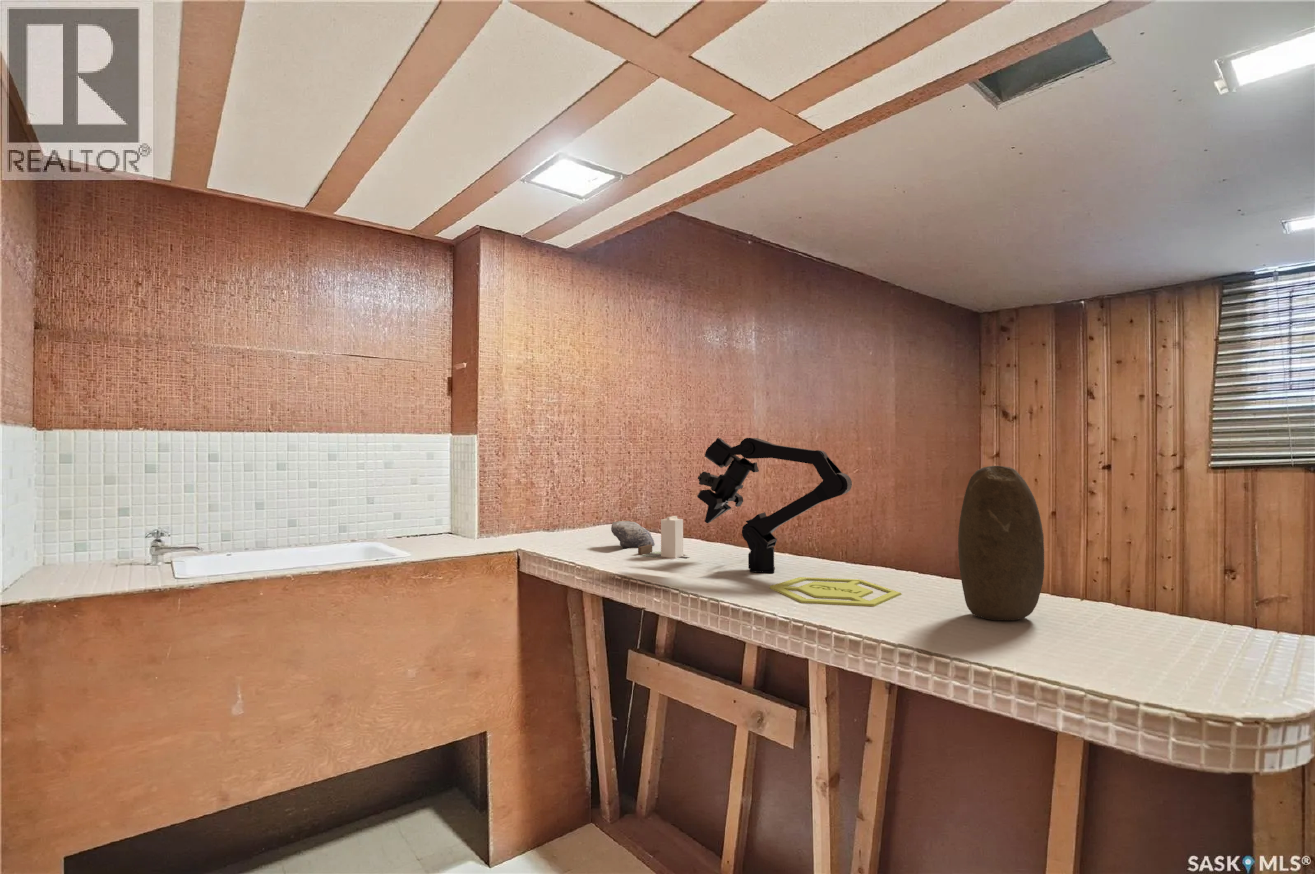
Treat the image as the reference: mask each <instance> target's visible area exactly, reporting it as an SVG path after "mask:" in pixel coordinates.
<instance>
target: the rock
mask: <svg viewBox="0 0 1315 874" xmlns="http://www.w3.org/2000/svg"><path fill="white" fill-rule="evenodd" d="M610 529H611V530H610V531H611V533H612V534H613V536H615V537H616V538H617V540H618V541H619V547H621V548H622V549H624V550H627V549H631V548H634V549H635V548H636V549H638V547H641V546H645V545H652V547H654V546H655V545H656V543H655V540H654V538H653V536H652V533H651V532H650V531H649V530H648V529H647V528H645V527H643V526H642V525H640V524H639V523H637V522H636V521H630V520H622V521H620V520H619V521H612V523H611V527H610Z"/></svg>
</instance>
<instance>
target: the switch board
mask: <svg viewBox="0 0 1315 874" xmlns="http://www.w3.org/2000/svg"><path fill="white" fill-rule="evenodd" d="M637 552H638V553H637V555H638V556H640V557H648V558H653V559H654V558H656V559H664V560H670V561H671V560H675V559H685V560H686V559H689V558H691V557H690V556H689V557H688V556H687V554H684V553H683V556H681V557H678V558H670V557H661V551H653V546H652V545H645V546H641V547H638V548H637Z"/></svg>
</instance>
